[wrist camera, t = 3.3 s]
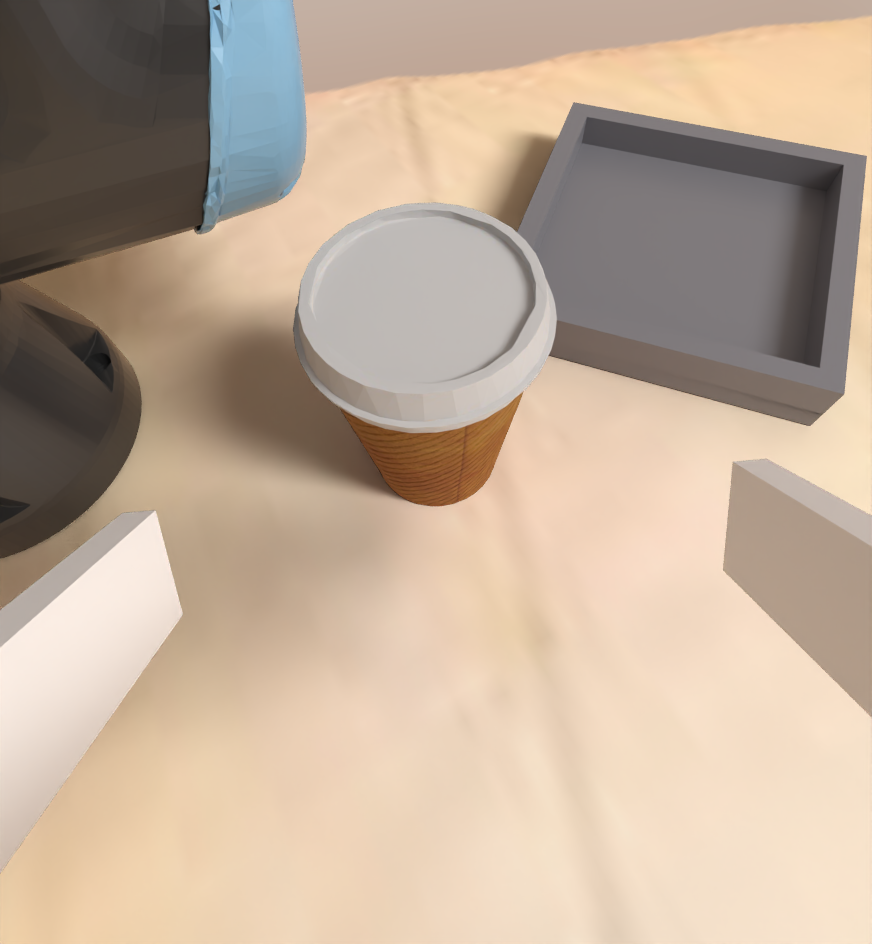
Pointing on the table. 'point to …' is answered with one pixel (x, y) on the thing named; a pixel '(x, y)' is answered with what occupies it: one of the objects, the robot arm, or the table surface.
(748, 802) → the table surface
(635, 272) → the charcoal serving tray
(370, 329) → the disposable coffee cup
